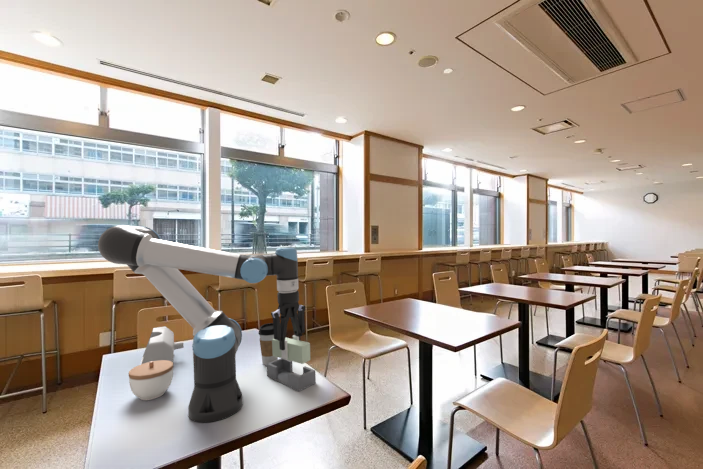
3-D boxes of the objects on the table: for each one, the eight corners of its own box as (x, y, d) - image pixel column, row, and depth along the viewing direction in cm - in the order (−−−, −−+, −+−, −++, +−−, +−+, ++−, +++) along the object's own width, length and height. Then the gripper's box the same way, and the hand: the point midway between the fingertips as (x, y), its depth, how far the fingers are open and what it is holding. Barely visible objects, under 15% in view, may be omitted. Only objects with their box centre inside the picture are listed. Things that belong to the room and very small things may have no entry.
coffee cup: (283, 358, 135) (282, 322, 135) (276, 367, 126) (275, 328, 126) (263, 358, 136) (262, 322, 136) (255, 366, 127) (254, 328, 127)
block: (272, 355, 118) (271, 339, 118) (280, 352, 121) (280, 336, 121) (302, 364, 109) (301, 346, 109) (310, 359, 112) (309, 342, 112)
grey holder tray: (298, 391, 106) (298, 377, 106) (266, 375, 119) (266, 363, 119) (315, 383, 112) (315, 370, 112) (283, 369, 124) (283, 357, 124)
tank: (184, 370, 127) (183, 338, 126) (135, 379, 119) (134, 345, 119) (183, 350, 149) (182, 323, 149) (142, 357, 141) (141, 328, 141)
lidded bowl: (179, 394, 107) (178, 360, 107) (134, 409, 98) (133, 373, 98) (167, 382, 116) (166, 351, 116) (125, 395, 107) (124, 362, 107)
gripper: (273, 296, 106) (276, 367, 106) (313, 288, 119) (316, 351, 119) (260, 294, 111) (263, 361, 111) (300, 286, 124) (303, 346, 124)
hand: (290, 356), depth 115 cm, fingers closed on block, 4 cm apart
